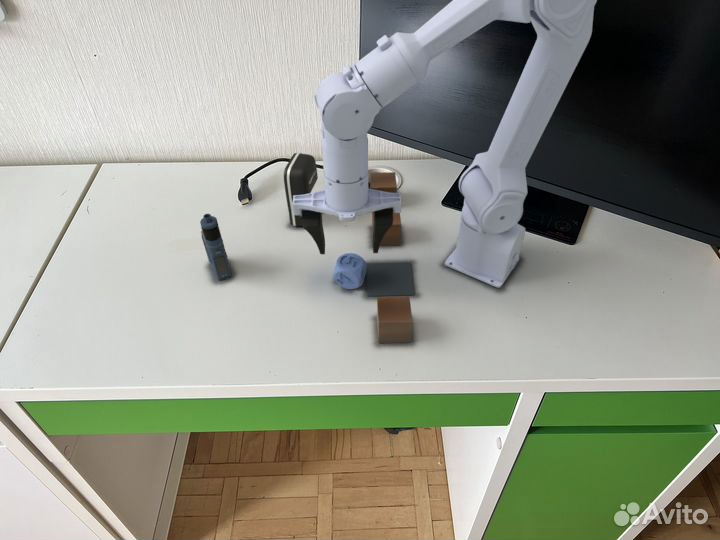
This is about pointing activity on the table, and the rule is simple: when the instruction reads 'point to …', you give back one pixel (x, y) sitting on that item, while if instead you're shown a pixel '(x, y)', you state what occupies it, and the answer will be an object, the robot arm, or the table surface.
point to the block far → (383, 182)
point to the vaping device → (215, 247)
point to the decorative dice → (350, 271)
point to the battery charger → (299, 181)
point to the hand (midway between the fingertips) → (349, 249)
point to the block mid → (391, 231)
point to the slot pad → (389, 279)
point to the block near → (394, 319)
